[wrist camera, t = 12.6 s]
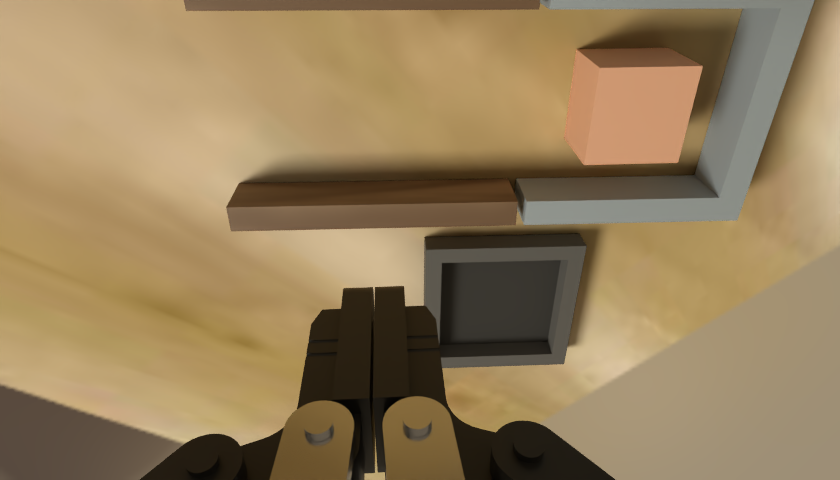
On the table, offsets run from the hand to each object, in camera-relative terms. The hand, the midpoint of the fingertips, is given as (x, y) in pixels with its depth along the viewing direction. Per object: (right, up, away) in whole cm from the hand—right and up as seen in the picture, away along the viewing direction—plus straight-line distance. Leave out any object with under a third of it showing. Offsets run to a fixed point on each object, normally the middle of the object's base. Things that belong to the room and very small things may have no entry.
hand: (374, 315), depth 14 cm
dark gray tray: (+6, -2, +24) cm, 25 cm away
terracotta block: (+12, +10, +17) cm, 23 cm away
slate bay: (+12, +10, +17) cm, 23 cm away
